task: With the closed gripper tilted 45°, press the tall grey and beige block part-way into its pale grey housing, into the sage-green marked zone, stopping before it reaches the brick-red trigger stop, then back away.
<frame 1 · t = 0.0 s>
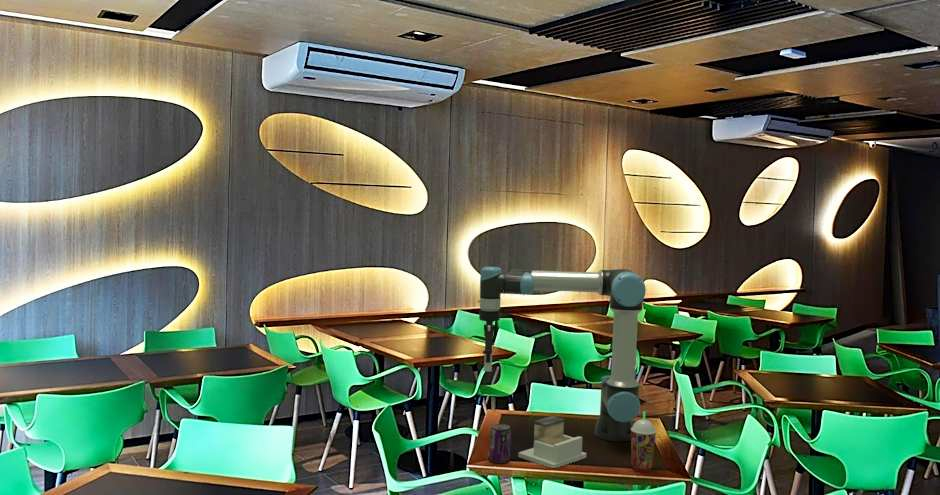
hand: (488, 366, 291), 28 cm above the table, tool pointing down, fingers open, 13 cm apart
beverage can: (499, 461, 273), on the table
key housing: (548, 455, 280), on the table
smoothie: (641, 470, 269), on the table
grey and beige block: (548, 435, 279), point 7 cm above the table, slide at 0.0 cm
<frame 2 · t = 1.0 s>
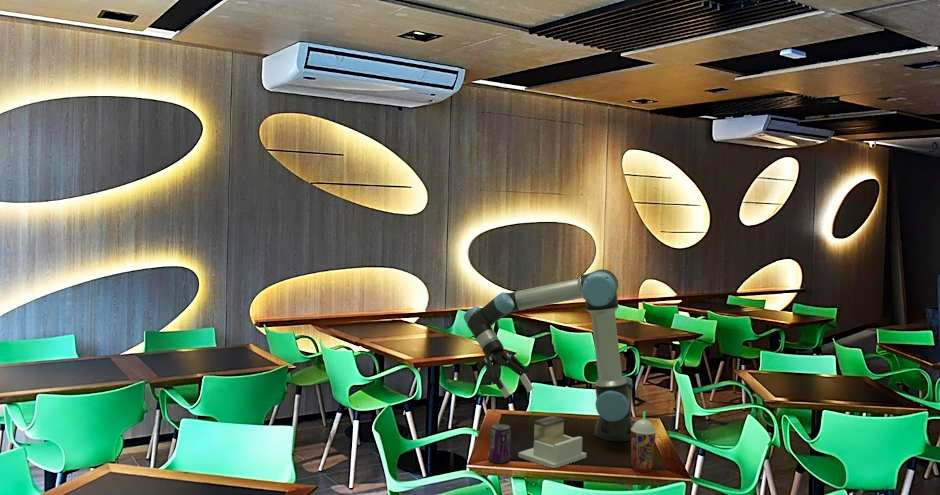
hand: (519, 393, 288), 20 cm above the table, tool tilted 45°, fingers open, 12 cm apart
nothing on the table moved.
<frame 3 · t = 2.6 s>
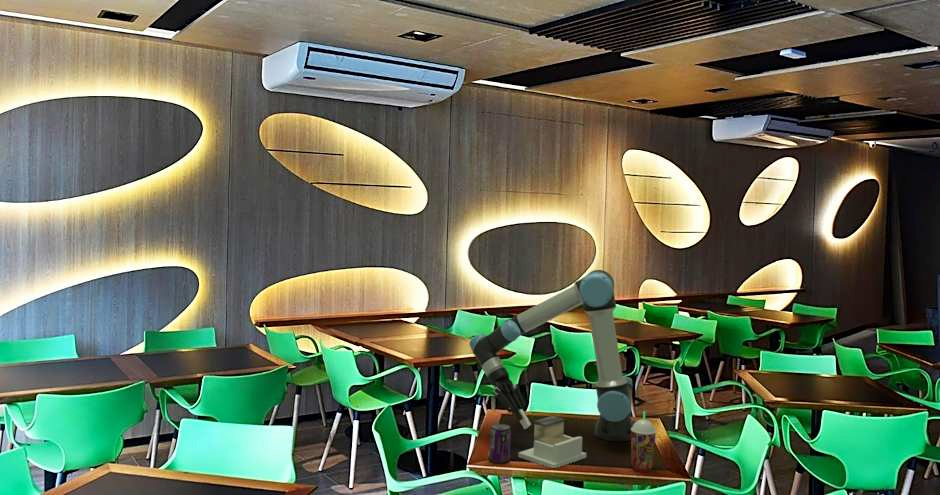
hand: (527, 426, 286), 8 cm above the table, tool tilted 45°, fingers closed
nothing on the table moved.
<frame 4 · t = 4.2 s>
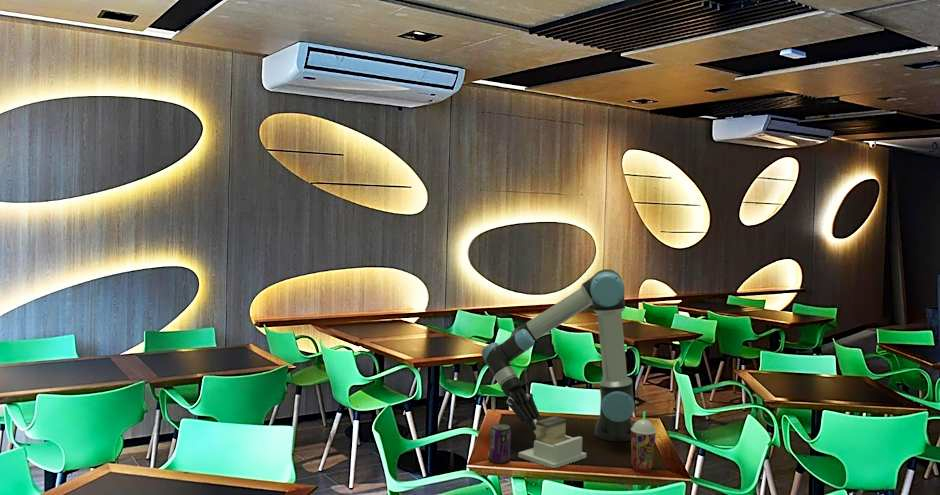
hand: (542, 437, 281), 6 cm above the table, tool tilted 45°, fingers closed
grey and beige block: (550, 436, 279), point 7 cm above the table, slide at 0.9 cm, touching gripper
everything else where it was.
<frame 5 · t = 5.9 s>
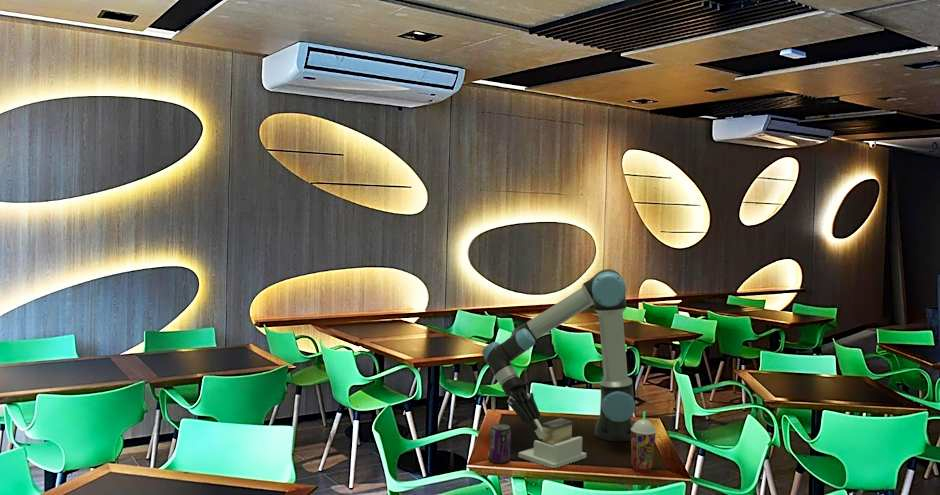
hand: (542, 436, 281), 6 cm above the table, tool tilted 45°, fingers closed
grey and beige block: (556, 437, 277), point 7 cm above the table, slide at 3.7 cm
everything else where it was.
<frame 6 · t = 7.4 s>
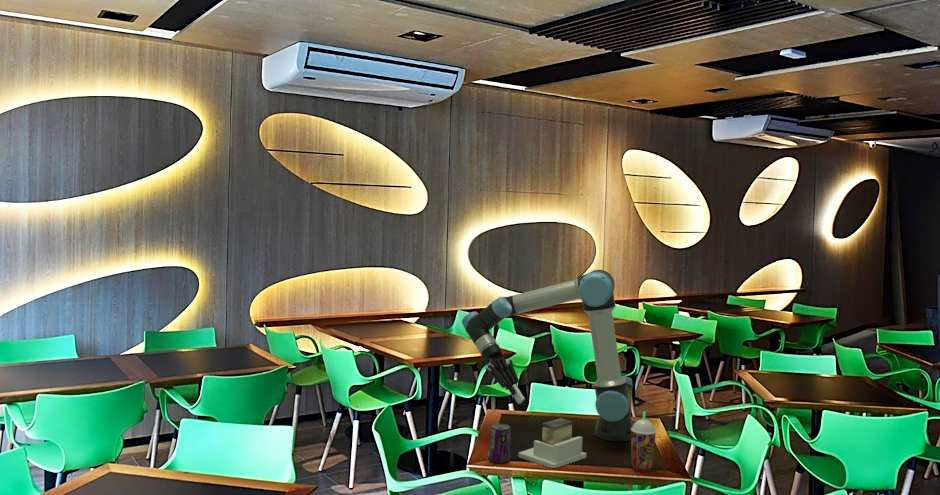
hand: (521, 401, 288), 17 cm above the table, tool tilted 45°, fingers closed
nothing on the table moved.
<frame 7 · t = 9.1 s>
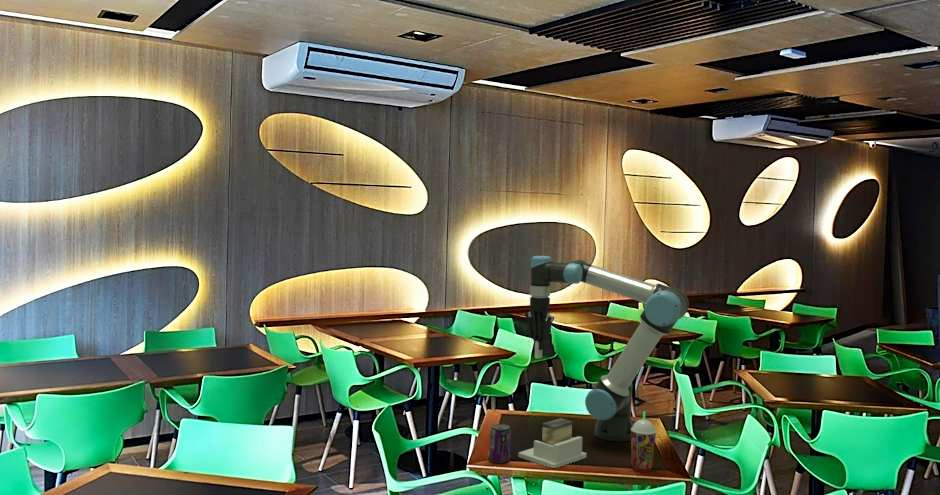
hand: (538, 357, 303), 29 cm above the table, tool pointing down, fingers closed
nothing on the table moved.
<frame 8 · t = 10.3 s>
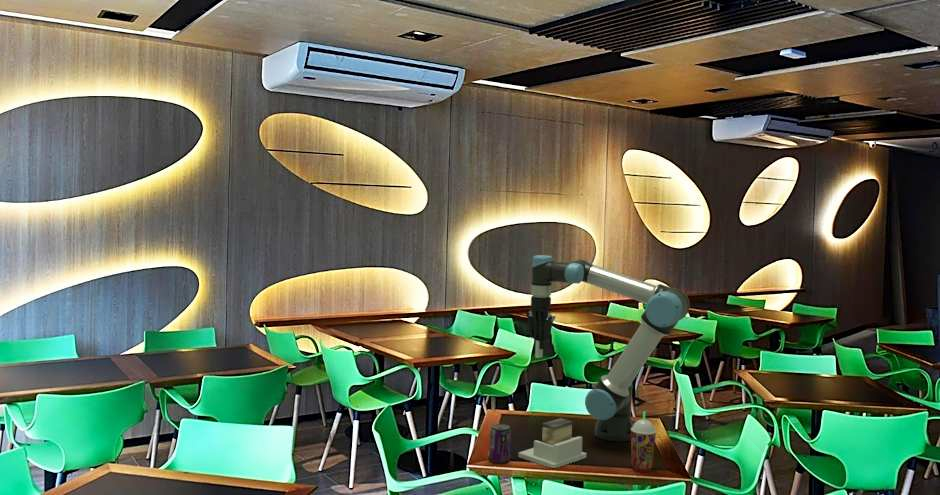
hand: (538, 357, 303), 29 cm above the table, tool pointing down, fingers closed
nothing on the table moved.
at the end: grey and beige block slide at 3.7 cm; beverage can moved 0.2 cm from its start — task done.
